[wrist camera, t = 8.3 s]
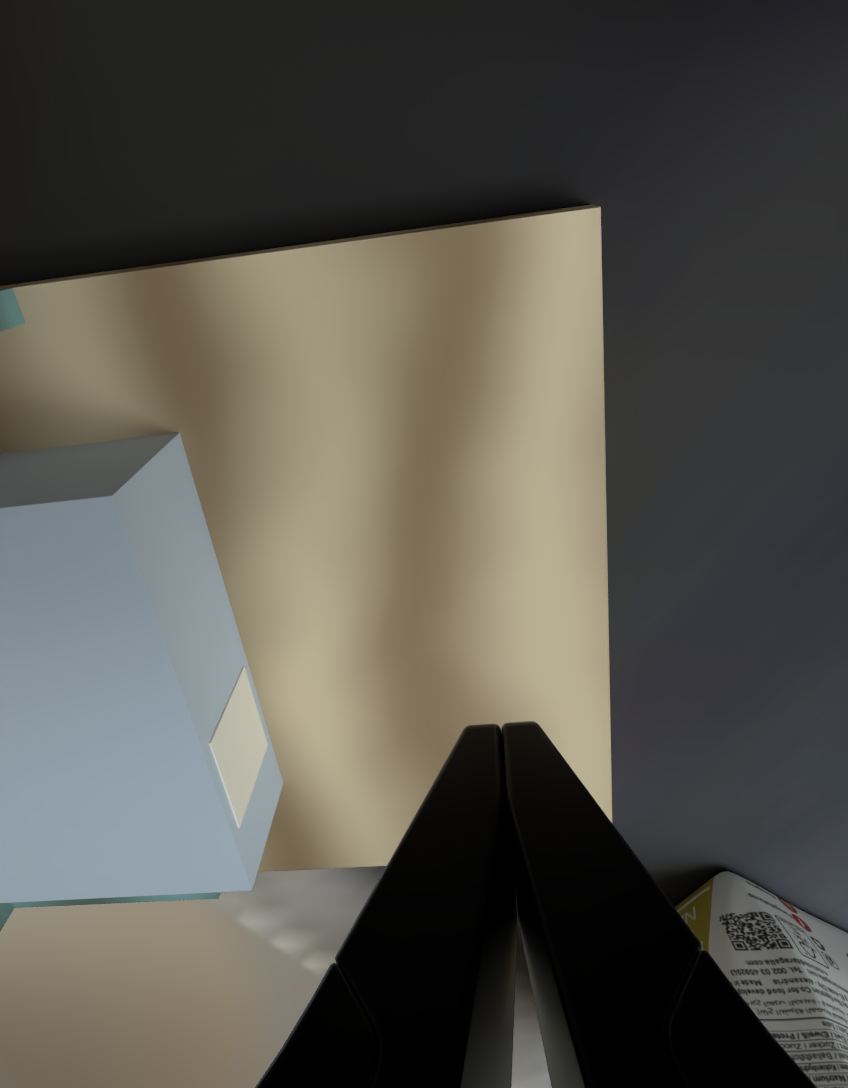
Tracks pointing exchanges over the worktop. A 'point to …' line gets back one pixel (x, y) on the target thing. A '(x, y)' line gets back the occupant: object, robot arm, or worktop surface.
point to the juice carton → (779, 969)
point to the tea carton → (122, 684)
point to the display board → (366, 490)
